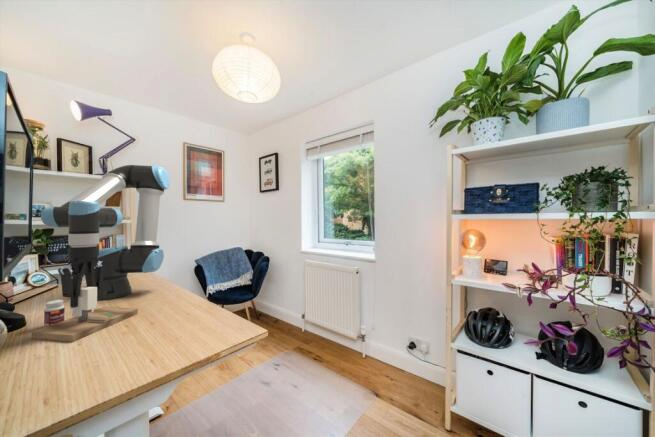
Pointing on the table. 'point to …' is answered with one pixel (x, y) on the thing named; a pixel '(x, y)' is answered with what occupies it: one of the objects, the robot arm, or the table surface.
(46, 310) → the pill bottle
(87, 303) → the white boxy piece
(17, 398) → the table surface
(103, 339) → the table surface
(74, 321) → the board
